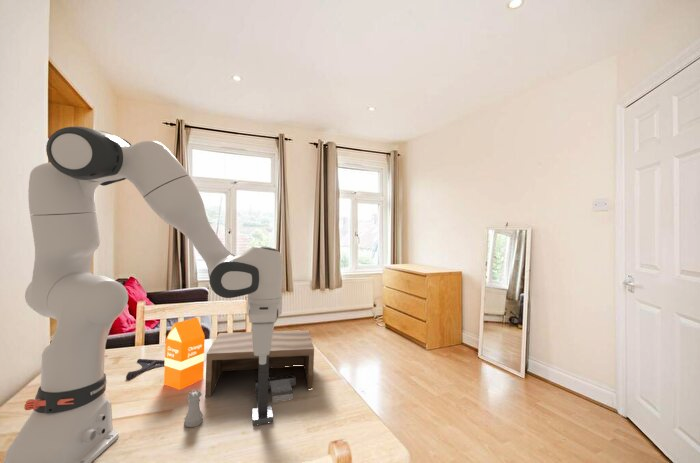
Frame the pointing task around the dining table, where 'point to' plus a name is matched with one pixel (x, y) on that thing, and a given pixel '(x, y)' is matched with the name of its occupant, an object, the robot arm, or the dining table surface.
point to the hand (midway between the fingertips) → (263, 360)
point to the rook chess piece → (193, 410)
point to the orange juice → (184, 354)
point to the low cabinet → (239, 355)
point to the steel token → (281, 393)
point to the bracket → (145, 367)
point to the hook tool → (261, 388)
